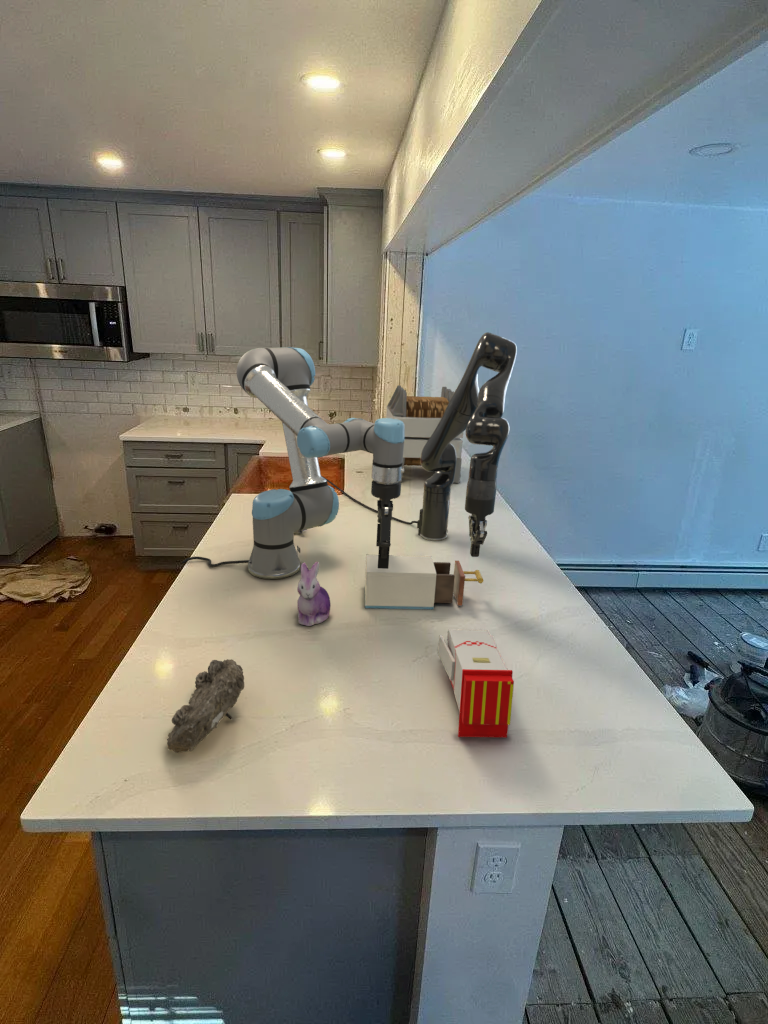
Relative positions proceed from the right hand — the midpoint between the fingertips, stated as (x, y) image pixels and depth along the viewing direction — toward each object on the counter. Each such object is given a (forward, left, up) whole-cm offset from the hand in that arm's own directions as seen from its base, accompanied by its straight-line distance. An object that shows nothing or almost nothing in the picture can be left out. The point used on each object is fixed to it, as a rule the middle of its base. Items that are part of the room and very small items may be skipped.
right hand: (474, 555), depth 152 cm
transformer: (-78, +99, -14) cm, 127 cm away
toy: (+18, -36, -14) cm, 43 cm away
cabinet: (-16, -12, -14) cm, 24 cm away
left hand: (-20, -15, -1) cm, 25 cm away
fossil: (-17, -74, -14) cm, 77 cm away
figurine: (-27, -34, -14) cm, 45 cm away
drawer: (-7, -5, -13) cm, 15 cm away
